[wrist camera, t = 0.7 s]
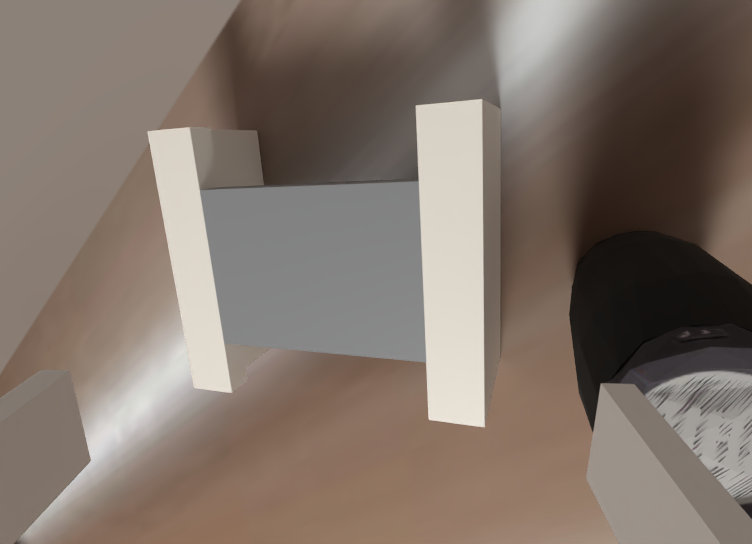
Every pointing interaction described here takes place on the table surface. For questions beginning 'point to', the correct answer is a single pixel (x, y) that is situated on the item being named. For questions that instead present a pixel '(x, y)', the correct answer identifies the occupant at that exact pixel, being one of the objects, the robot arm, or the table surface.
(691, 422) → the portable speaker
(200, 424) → the table surface
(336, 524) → the table surface
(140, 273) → the table surface
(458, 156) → the square spool
